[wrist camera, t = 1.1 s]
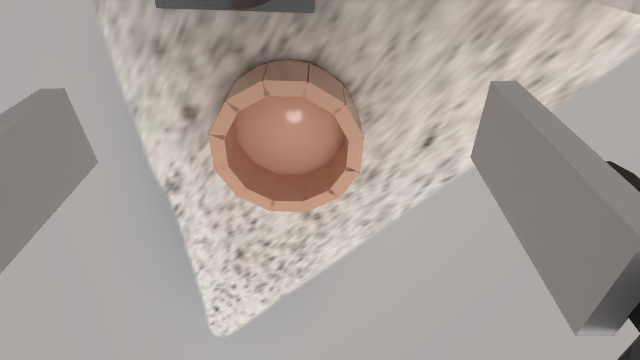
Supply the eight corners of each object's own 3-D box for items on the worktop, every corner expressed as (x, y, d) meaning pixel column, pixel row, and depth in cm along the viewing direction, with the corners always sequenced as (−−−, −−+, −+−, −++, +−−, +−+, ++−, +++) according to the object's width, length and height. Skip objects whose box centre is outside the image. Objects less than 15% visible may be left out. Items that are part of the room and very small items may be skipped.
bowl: (215, 57, 31) (199, 78, 27) (363, 61, 31) (369, 83, 27) (231, 178, 38) (220, 210, 34) (351, 181, 38) (355, 212, 34)
